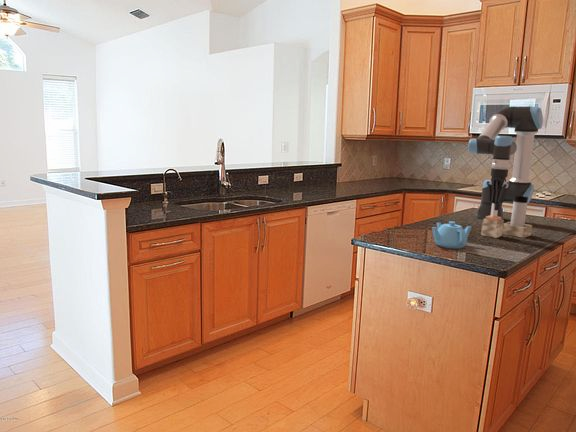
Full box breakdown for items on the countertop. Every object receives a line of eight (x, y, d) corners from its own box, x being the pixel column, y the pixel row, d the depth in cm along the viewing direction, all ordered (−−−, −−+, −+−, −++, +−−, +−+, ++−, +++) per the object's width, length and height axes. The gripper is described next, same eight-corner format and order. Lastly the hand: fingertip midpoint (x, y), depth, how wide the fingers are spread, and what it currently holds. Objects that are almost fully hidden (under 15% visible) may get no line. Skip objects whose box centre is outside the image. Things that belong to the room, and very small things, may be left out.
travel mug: (508, 234, 233) (514, 195, 229) (509, 232, 239) (514, 193, 235) (522, 236, 230) (528, 196, 226) (522, 234, 236) (528, 195, 232)
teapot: (428, 246, 204) (430, 222, 202) (435, 239, 217) (437, 216, 215) (464, 251, 197) (467, 227, 195) (469, 244, 210) (472, 221, 208)
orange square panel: (484, 222, 228) (485, 216, 228) (489, 221, 232) (490, 215, 232) (496, 224, 225) (497, 218, 224) (500, 223, 228) (501, 217, 228)
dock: (480, 235, 230) (482, 219, 228) (497, 229, 245) (499, 214, 244) (515, 241, 218) (517, 225, 217) (530, 235, 234) (533, 219, 233)
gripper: (484, 166, 228) (478, 214, 233) (503, 169, 216) (497, 219, 220) (496, 167, 230) (490, 213, 235) (516, 169, 218) (509, 218, 223)
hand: (493, 216), depth 228 cm, fingers closed
